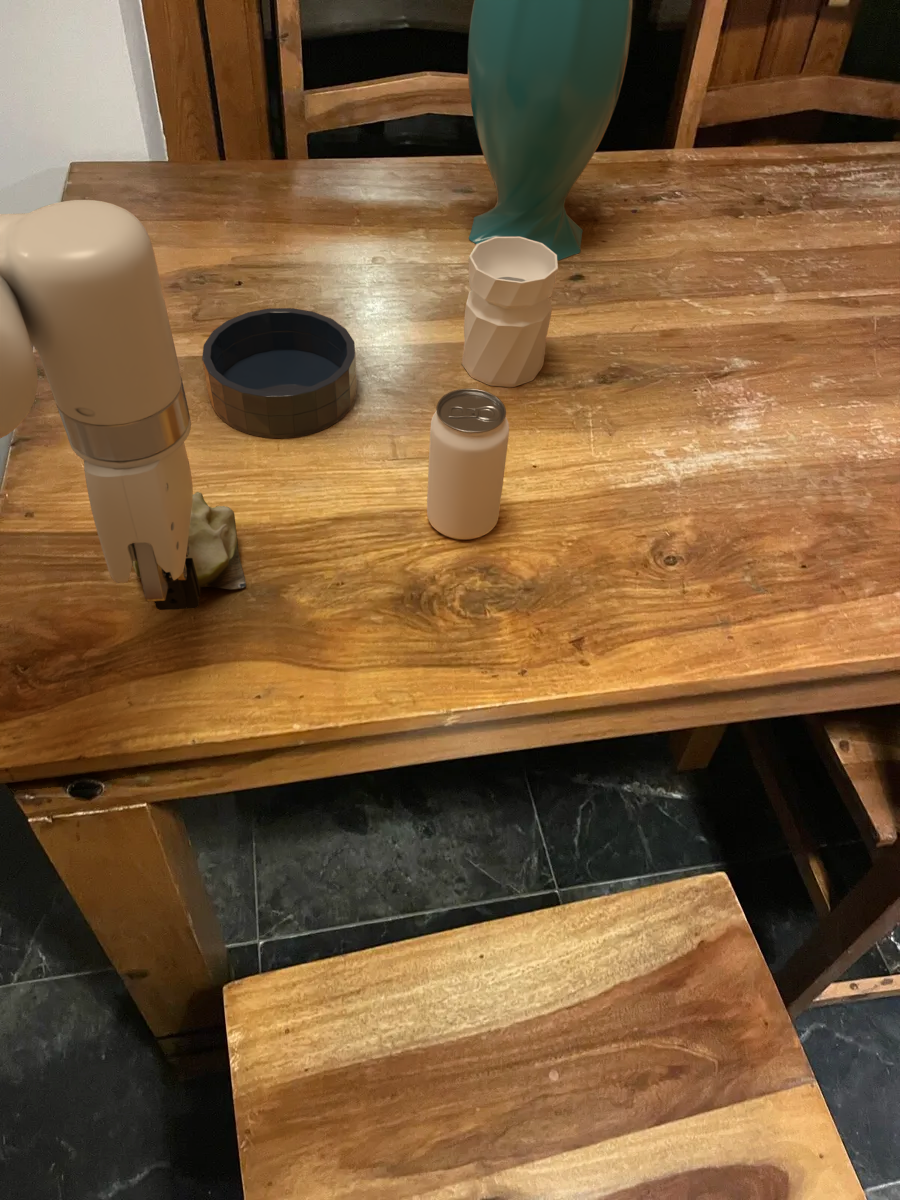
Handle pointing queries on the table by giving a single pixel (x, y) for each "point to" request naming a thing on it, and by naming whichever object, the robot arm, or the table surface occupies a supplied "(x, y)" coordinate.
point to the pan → (280, 372)
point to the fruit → (213, 546)
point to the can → (466, 463)
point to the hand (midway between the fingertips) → (179, 601)
